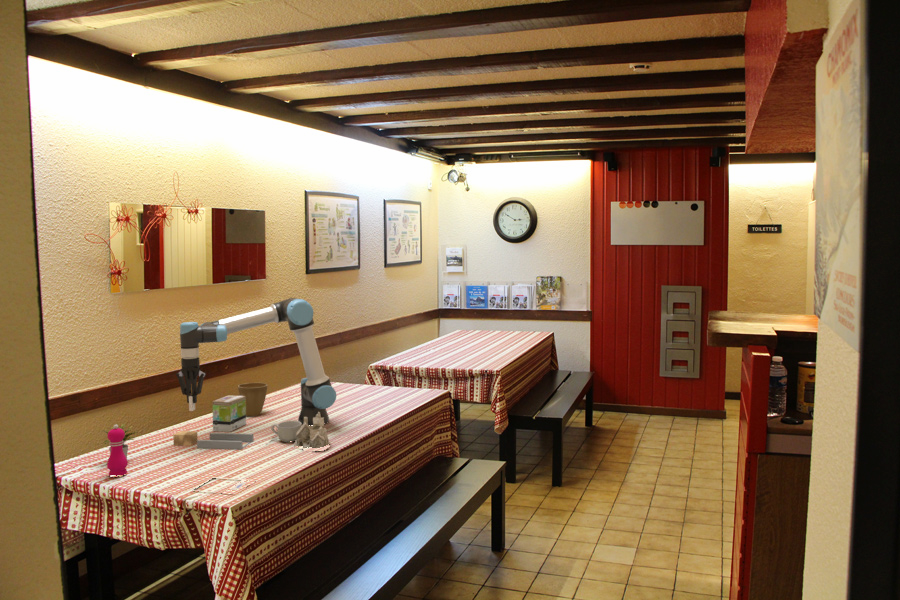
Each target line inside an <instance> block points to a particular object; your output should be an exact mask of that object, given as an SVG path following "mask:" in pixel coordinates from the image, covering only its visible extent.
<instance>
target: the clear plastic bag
mask: <svg viewBox="0 0 900 600" xmlns="http://www.w3.org/2000/svg"><path fill="white" fill-rule="evenodd" d="M212 478H216V479H228V480H227V481H231V480H241V481H237V483H235V484H234V485H232V486H231V487H230V488H228V489H231V491H232V490H237V489H239V488H240V487H242V486H243V485H245V484H246V482H244V481H246V480H248V481H249V480H250V479H245V478H243V479H241V478H230V477H229V478H227V477H215V476H213V477H211V478H209V479H207V480H206V481H204V482H203V483H201V484H200V485H197V486H196V487H195V488H196V489H195V490H193V491H197V489H198V488H199V486H200V487H201V486H202V485H205V484H206V483H208V482H209V480H210V481H212V480H213V479H212ZM216 479H215V480H216ZM240 482H241V483H240ZM204 483H205V484H204ZM235 485H236V486H235ZM228 489H226V490H225V491H227V490H228ZM198 491H199V492H201V491H202V490H198Z"/></svg>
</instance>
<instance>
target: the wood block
mask: <svg viewBox="0 0 900 600" xmlns="http://www.w3.org/2000/svg"><path fill="white" fill-rule="evenodd" d="M172 436H173V446H193V445H195V444H197V440H198V431H196V430H195V431H190V430H180V431H178V432H175V433H174V434H173V435H172Z"/></svg>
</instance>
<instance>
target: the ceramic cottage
mask: <svg viewBox="0 0 900 600" xmlns="http://www.w3.org/2000/svg"><path fill="white" fill-rule="evenodd" d="M327 429H328V428H325V424H324V417H323V418H321V415H320V412H318V414H317V415H316V417H315V418H313V426H309V425H308V418H307V417H304V423H303V425H301V428H300V429H299V430H298V432H296V437H297V438H296V439H297V440H296V441H295V442H293V443H294V445H293V447H294V446H298V447H299V446H303V448H307V447H308V448H309V447H312V448H320V447H324V446H326V445H328V444H329V443H330V444H331V442H330V441H329V437H328V430H327Z"/></svg>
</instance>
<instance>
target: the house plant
mask: <svg viewBox="0 0 900 600" xmlns="http://www.w3.org/2000/svg"><path fill="white" fill-rule="evenodd" d="M116 424H117V425H118V426H119V422H117V423H116ZM127 424H128V422H127V423H122V424H121V425H120V426H119V428H120V429H122V430H123V431H124V433H125V437H124V438H123V440H124V441H123V443H124V444H123V452H124V455H125V456H126V458H127V459H128V451H129V444H126V442H128V441H134V439H137V438H136V437H135V436H132V435H134V434H135V432H129V431H130V430H131V429H132V428H133V427H134V425H132V426H130V427H128V428H127V429H126V430H124V428H125V427H126V425H127ZM107 428H109V429H110V430H111V429H114V428H113V426H110V427H107ZM107 428H105V429H104V430H100V432H102V431H103V432H105V433H106V434H107V436H106V438H107V440H104V441H103V443H104V445H107V444H110V443H109V442H110V440H108V432H109V431H110V430H108V429H107ZM128 432H129V433H128ZM138 433H139V432H136V434H138ZM109 454H111V446H109Z"/></svg>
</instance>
